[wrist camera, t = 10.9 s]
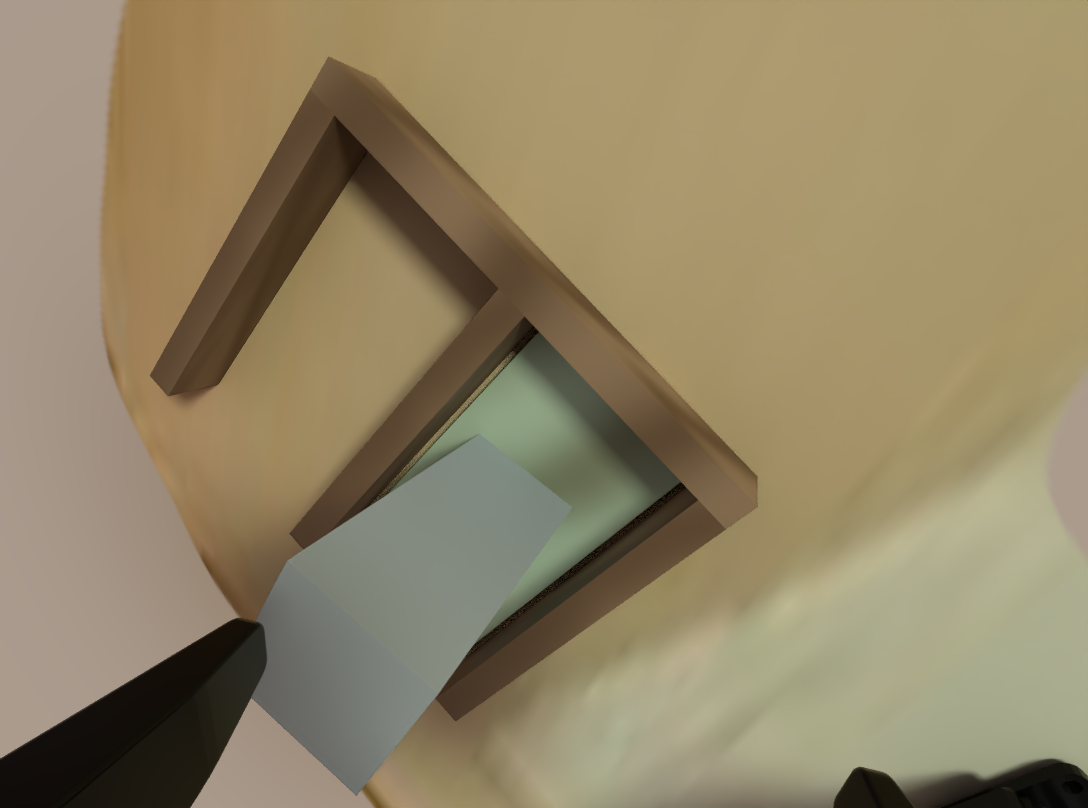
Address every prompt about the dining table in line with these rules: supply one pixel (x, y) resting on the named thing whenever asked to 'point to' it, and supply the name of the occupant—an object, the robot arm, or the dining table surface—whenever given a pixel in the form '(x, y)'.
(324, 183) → the comb rack
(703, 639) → the dining table surface
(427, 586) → the tall grey square prism
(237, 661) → the robot arm
